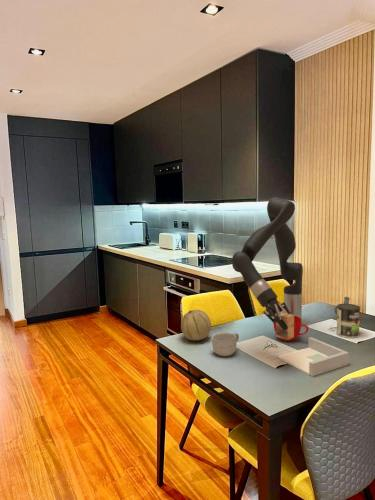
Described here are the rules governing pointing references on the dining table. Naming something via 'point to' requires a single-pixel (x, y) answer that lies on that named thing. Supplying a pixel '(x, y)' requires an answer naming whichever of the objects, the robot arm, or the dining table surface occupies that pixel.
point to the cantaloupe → (196, 325)
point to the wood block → (289, 322)
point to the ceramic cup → (295, 328)
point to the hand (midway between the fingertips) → (289, 327)
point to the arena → (317, 358)
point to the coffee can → (348, 320)
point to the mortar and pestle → (346, 301)
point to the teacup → (225, 343)
